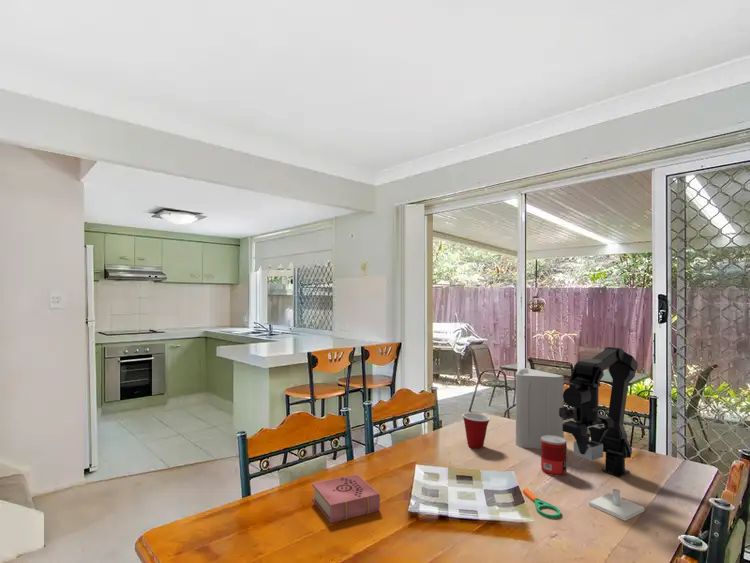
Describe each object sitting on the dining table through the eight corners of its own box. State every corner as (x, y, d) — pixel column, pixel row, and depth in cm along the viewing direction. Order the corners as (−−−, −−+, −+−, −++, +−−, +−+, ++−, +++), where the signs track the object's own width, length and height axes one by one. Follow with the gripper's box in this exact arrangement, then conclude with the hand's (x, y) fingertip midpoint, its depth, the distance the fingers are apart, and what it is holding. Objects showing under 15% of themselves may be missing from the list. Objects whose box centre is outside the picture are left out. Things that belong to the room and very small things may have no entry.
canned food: (568, 477, 143) (568, 443, 143) (543, 475, 145) (543, 441, 145) (563, 468, 150) (563, 436, 151) (539, 466, 152) (539, 434, 152)
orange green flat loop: (565, 519, 117) (565, 512, 117) (545, 521, 116) (545, 514, 116) (534, 493, 132) (534, 487, 132) (516, 495, 131) (516, 489, 131)
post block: (608, 496, 130) (608, 479, 130) (644, 511, 121) (644, 492, 121) (589, 505, 124) (589, 487, 124) (625, 521, 116) (625, 501, 116)
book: (331, 525, 113) (332, 506, 113) (312, 500, 126) (312, 483, 126) (380, 513, 119) (380, 494, 119) (356, 490, 133) (357, 473, 133)
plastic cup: (496, 449, 168) (496, 418, 168) (472, 452, 164) (472, 420, 164) (479, 440, 178) (479, 410, 178) (456, 443, 174) (456, 413, 174)
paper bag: (500, 438, 180) (501, 370, 181) (527, 433, 187) (527, 368, 188) (537, 454, 163) (537, 379, 164) (564, 448, 170) (564, 376, 171)
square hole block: (584, 450, 140) (584, 438, 140) (603, 456, 135) (603, 443, 135) (573, 454, 137) (573, 441, 137) (591, 460, 132) (591, 447, 132)
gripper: (581, 393, 148) (581, 439, 148) (547, 400, 138) (547, 449, 138) (614, 400, 139) (614, 449, 139) (579, 408, 129) (579, 461, 129)
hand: (588, 452), depth 136 cm, fingers closed on square hole block, 6 cm apart
